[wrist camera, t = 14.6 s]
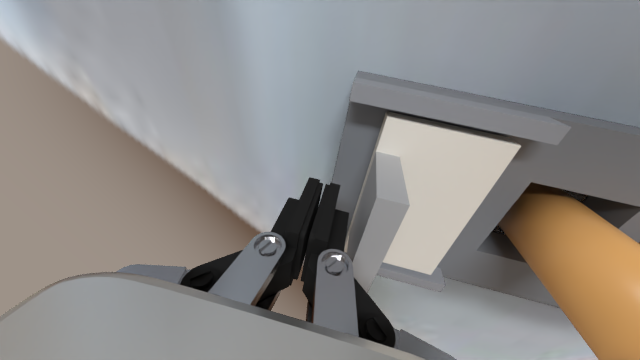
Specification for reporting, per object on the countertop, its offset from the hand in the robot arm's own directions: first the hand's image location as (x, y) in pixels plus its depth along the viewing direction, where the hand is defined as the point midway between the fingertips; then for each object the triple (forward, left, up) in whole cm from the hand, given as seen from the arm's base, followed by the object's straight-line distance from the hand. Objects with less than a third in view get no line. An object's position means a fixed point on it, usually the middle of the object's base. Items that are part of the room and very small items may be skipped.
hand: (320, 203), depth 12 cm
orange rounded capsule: (-13, 0, -5) cm, 14 cm away
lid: (-5, 0, -2) cm, 6 cm away
